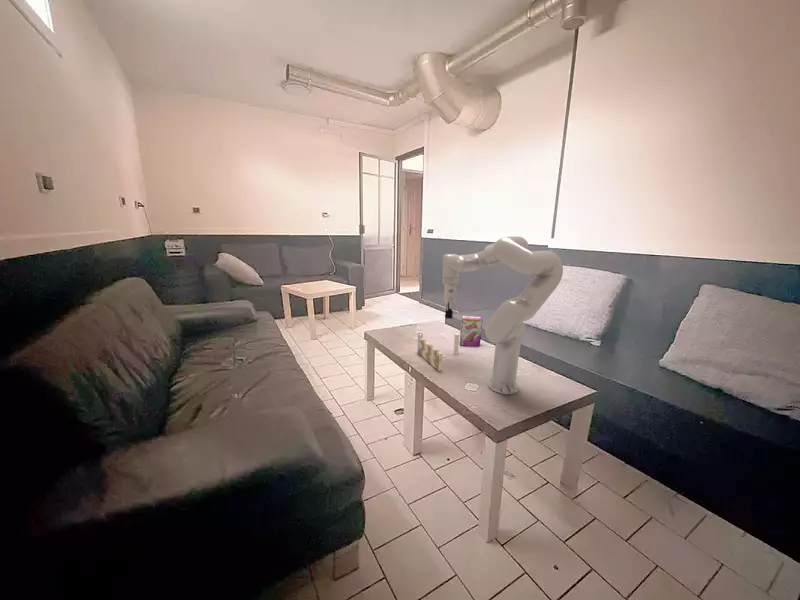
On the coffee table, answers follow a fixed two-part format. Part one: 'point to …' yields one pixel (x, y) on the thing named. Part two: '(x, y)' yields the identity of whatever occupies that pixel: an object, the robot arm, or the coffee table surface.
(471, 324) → the candy bar box
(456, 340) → the post
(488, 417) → the coffee table surface
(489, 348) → the coffee table surface
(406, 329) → the coffee table surface
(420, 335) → the hinge post
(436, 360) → the gate
